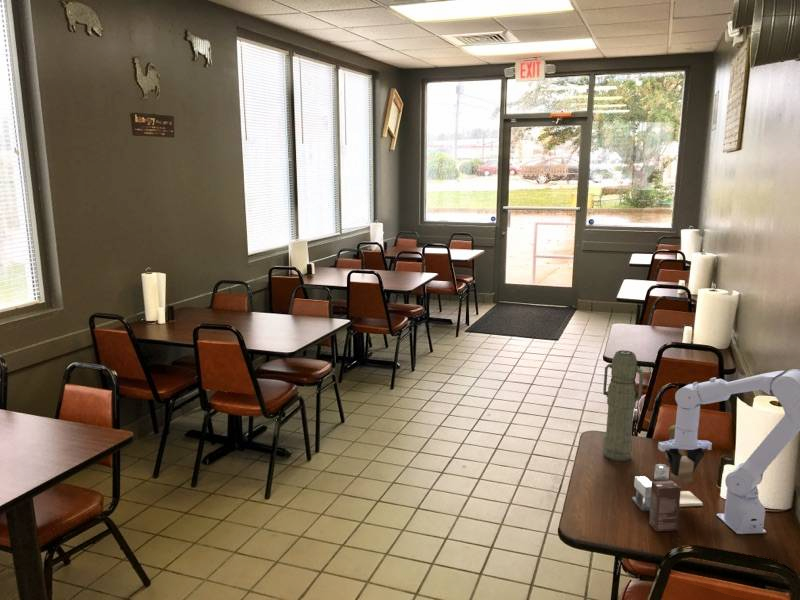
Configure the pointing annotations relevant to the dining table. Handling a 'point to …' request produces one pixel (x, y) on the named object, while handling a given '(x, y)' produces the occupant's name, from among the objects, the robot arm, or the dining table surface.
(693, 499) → the birch pad
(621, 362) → the green thermos bottle
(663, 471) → the round canister
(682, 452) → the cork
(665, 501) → the box
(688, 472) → the walnut block
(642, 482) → the mounted unit
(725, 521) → the robot arm
